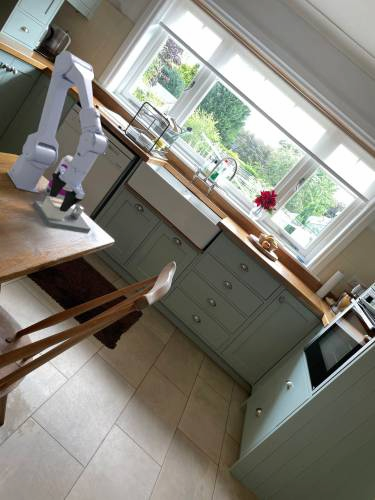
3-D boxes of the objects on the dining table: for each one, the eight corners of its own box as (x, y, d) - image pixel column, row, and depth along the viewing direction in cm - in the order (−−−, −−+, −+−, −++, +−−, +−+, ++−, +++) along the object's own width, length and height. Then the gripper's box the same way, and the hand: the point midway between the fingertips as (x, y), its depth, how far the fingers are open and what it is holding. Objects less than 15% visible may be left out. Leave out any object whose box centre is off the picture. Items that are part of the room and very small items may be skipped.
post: (68, 213, 127) (75, 203, 125) (75, 215, 129) (81, 204, 128) (72, 219, 126) (78, 208, 124) (79, 220, 128) (85, 209, 126)
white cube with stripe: (55, 209, 124) (62, 198, 123) (63, 219, 121) (69, 208, 120) (41, 206, 120) (47, 195, 118) (48, 216, 117) (54, 205, 116)
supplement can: (58, 205, 131) (79, 169, 126) (39, 190, 131) (60, 154, 126) (70, 201, 139) (90, 168, 134) (52, 188, 139) (72, 153, 134)
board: (33, 204, 121) (35, 200, 120) (74, 212, 134) (76, 209, 133) (47, 226, 115) (49, 222, 115) (88, 232, 129) (90, 228, 128)
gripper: (57, 150, 115) (36, 186, 119) (78, 178, 108) (56, 215, 113) (76, 157, 121) (56, 191, 125) (97, 184, 114) (75, 219, 118)
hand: (57, 203), depth 119 cm, fingers open, 7 cm apart
